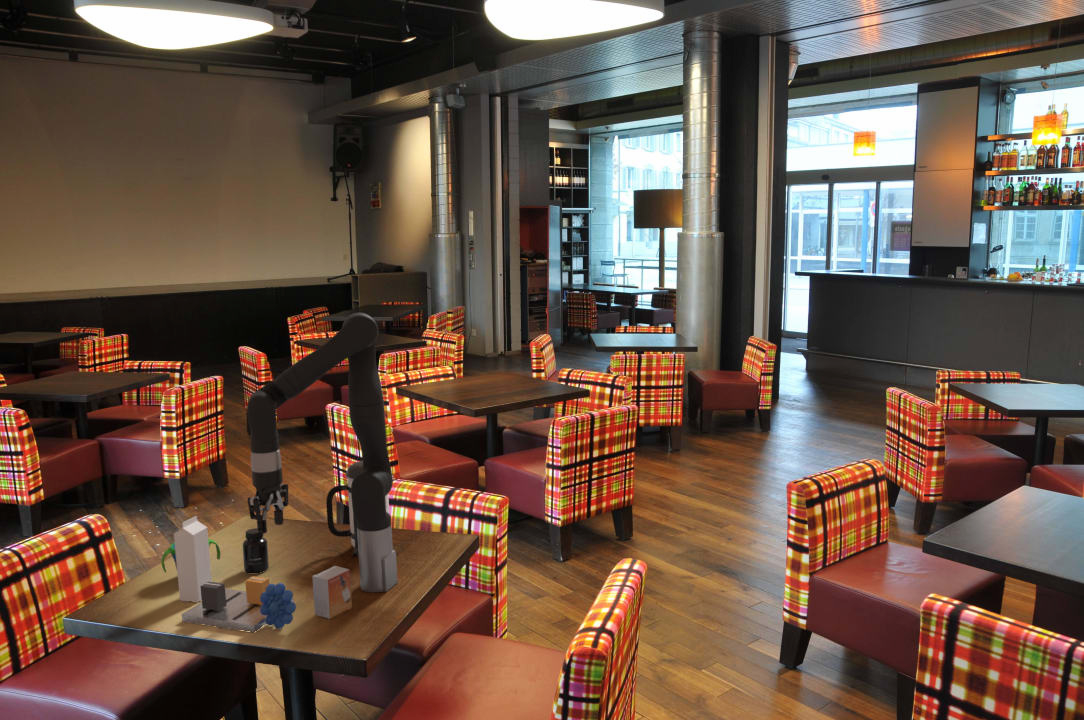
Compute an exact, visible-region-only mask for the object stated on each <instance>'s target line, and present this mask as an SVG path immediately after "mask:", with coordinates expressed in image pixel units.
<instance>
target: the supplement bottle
mask: <svg viewBox="0 0 1084 720" xmlns="http://www.w3.org/2000/svg"><path fill="white" fill-rule="evenodd" d="M268 549H269V547H268V540H267V538H265V537H264V534H263V533H259V532H258V528H257V527H256V528H249V529H247V530H246V531H245V540H244V541H243V542H242V555H243V556H242V558H243V559H242V560H243V570H244V572H245V573H246V574H248V573H259V574H261V573H260V572H263V571H265V572H267V571H268V570H267V569H269V568H270V567H269V565H270V563H269V550H268ZM266 570H267V571H266ZM263 573H264V572H263Z"/></svg>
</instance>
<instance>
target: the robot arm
mask: <svg viewBox="0 0 1084 720" xmlns="http://www.w3.org/2000/svg"><path fill="white" fill-rule="evenodd" d="M378 338H379V326H378V324H377V322H376V321H375V319H374V318H373V317H372V316H370V315H369V314H367V313H364V312H354V313H352V314H349V315H348V316H347V317H346V318H345V319H344V321H343V323H342V326H341V328H340V329H339V331H337V332H336V333H335V334H334V335H333V337H331V338H330V339H329V340H328V341H327V342H325V343H324V344H323V345H322V346H320V347H318V348H317V349H316V350H314V351H312V352H311V353H309V354H307V355H306V356H304V357H302V358H301V359H299V360H298V361H296V362H295V363H294V364H292V365H291V366H289V367H288V368H287V369H286V370H284V371H283V372H281V373H280V374H279V375H277V377H276V378H274V379H273V380H272V381H270V382H268V383H266V384H265V385H263V386H261V387H260V388H258V390H256V391H254V392H253V393H252V394H251V395H250V397H249V398H248V402H247V406H246V410H247V411H246V412H247V420H248V426H249V431H250V437H249V439H250V441H249V442H250V453H251V454H250V455H251V456H250V466H251V467H250V468H251V478H252V479H251V481H252V486H253V487H254V488H255V494H254V496H252V497H251V496H249V497H247V505H248V511H249V517H250V520H256V525H257V527H256V528H258V532H259V533H263V535H264V534H266V533H267V532H268V527H267V525H268V524H267V519H266V518H267V514H268V512H269V511H270V508H271V506H272V508H273V519H274V524H275V525H276V526H281V525H284V510H285V507H288V506H289V484H287V483H283V482H284V481H283V479H284V478H283V466H282V456H281V455H282V454H281V450H280V440H279V432H278V430H277V429H278V428H277V409H278V408H280V407H281V406H282V405H284V404H285V403H287V402H288V401H289V400H290V399H294V398H296V397H297V396H299V395H300V394H302V393H303V392H304V391H306V390H307V389H309V387H311V386H312V385H314V384H315V383H316V382H317V381H318V380H319V379H321V378H322V377H323V376H324V375H326V374H327V373H328V372H329V371H331V370H332V369H333V368H334V367H336V366H337V365H339V364H340V363H342V362H343V361H345V360H346V359H347V361H348V384H347V385H348V386H347V390H348V391H347V392H348V393H347V394H348V411H349V419H350V425H351V427H352V430H353V431H354V434H355V436H356V439H357V440H358V442H359V445H360V448H361V455H362V458H363V459H362V461H363V471H362V472H361V473H359V474H358V475H357V476H356V477H355V478H354V479H353V481H352V485H351V497H352V507H353V515H354V519H355V521H356V523H357V537H358V550H357V551H358V554H359V556H358V569H359V582H360V583H359V584H360V585H359V586H360V589H361V590H362V591H364V592H367V593H379V592H380V593H381V592H388V591H389V590H390V589H392V588H393V587H394V586H395V585H397V584H398V570H397V569H398V567H397V551H396V550H395V549H393V530H392V517H391V515H390V512H389V513H388V512H386V511H385V501H384V497H385V496H386V495H387V494H388V495H389V493H390V492H391V490H392V488H393V485H394V482H393V481H394V477H393V478H392V475H393V474H392V473H393V471H392V467H391V461H390V457H389V452H388V443H387V430H386V429H387V428H386V413H385V412H386V411H385V402H384V401H385V400H384V393H383V388H382V383H381V380H380V379H381V378H380V375H379V371H378V367H377V360H376V359H377V358H376V357H377V356H376V354H377V351H376V348H377V347H376V341H377V339H378ZM261 513H262V514H261Z"/></svg>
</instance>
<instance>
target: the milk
mask: <svg viewBox="0 0 1084 720" xmlns="http://www.w3.org/2000/svg"><path fill="white" fill-rule="evenodd" d="M181 523H182V525H181V527H182V528H180V529H179V530H177V531H175V532H174V533H173V539H174V540H173V541H174V542H175V552H176V562H177V569H176V572H177V582H178V583H177V584H178V592H179V600H180V601H181V602H189V601H192V602H191V603H200V602H199V601H201V600H202V598H201V587H200V586H202V585H203V584H205V583H207V582H213V580H212V579H213V578H212V568H211V567H212V566H211V558H210V557H211V556H210V555H211V554H210V546H209V543H208V539H209V535H208V526H206V525H205V524H203V523H201V522H200V521H199V520H198V516H197V515H195V516H193V517H191V518H189V519H187V520H184V521H183V522H181ZM194 601H195V602H194ZM201 602H202V601H201Z"/></svg>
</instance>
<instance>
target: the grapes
mask: <svg viewBox="0 0 1084 720" xmlns="http://www.w3.org/2000/svg"><path fill="white" fill-rule="evenodd" d="M292 598H294V593H293V591H292V590H289V589H286V585H285V584H284V583H283V582H279V583H276V584H274V583H269V585H268V586H267V587H266V592H263V593H262V594H261V596H260V601H261V603H263V605H262V606H261V608H260V613H261V614H262V615H265V616H266V615H267V616H266V619H265V622H266V623H267V625H268V626H272V625H273V626H274V628H275V629H279V630H281V629H283V628H284V626H285V625H289V624H291V623H292V622H293V619H294V616H293V614H294V613H295V612H296V609H297V605H296V603H295V601H294V602H291V600H292Z"/></svg>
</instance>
